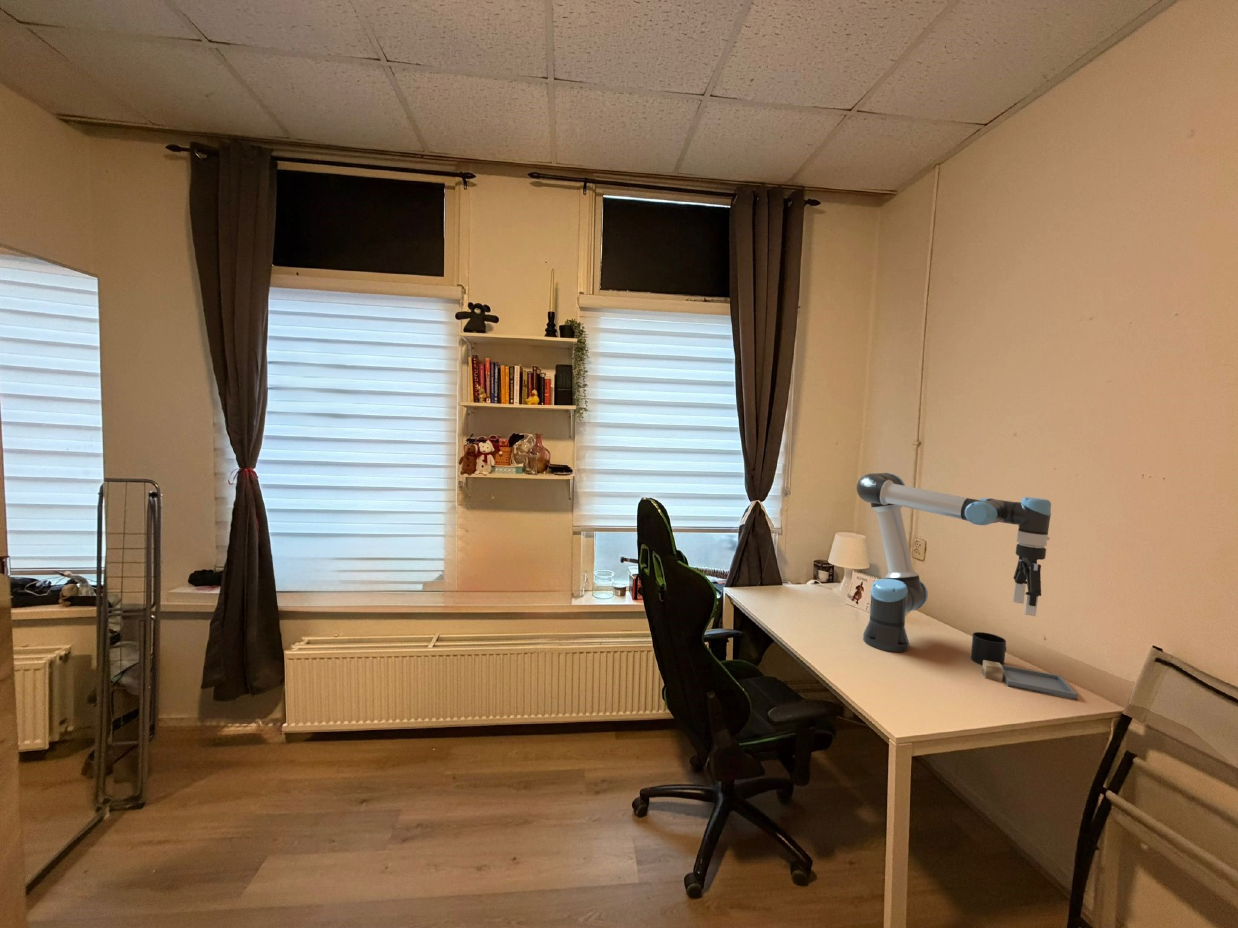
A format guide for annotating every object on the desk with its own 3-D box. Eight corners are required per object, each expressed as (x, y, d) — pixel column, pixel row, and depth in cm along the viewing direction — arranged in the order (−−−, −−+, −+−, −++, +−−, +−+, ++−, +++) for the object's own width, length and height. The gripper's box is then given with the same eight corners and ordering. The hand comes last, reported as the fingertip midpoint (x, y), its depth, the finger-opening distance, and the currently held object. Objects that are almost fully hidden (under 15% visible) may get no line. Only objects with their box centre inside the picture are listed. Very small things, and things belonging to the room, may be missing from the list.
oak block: (985, 678, 164) (986, 664, 163) (982, 672, 168) (983, 659, 167) (1002, 681, 162) (1003, 668, 161) (998, 676, 166) (999, 662, 166)
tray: (1007, 686, 158) (1008, 680, 158) (996, 668, 171) (996, 663, 171) (1077, 700, 151) (1077, 694, 151) (1059, 680, 164) (1060, 675, 164)
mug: (1017, 667, 173) (1019, 641, 172) (987, 668, 171) (989, 642, 170) (992, 655, 182) (994, 631, 182) (964, 656, 180) (966, 632, 180)
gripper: (1059, 554, 150) (1051, 623, 152) (1034, 540, 173) (1027, 600, 174) (1028, 550, 154) (1020, 618, 155) (1007, 537, 176) (1000, 595, 178)
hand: (1023, 608), depth 165 cm, fingers open, 13 cm apart
